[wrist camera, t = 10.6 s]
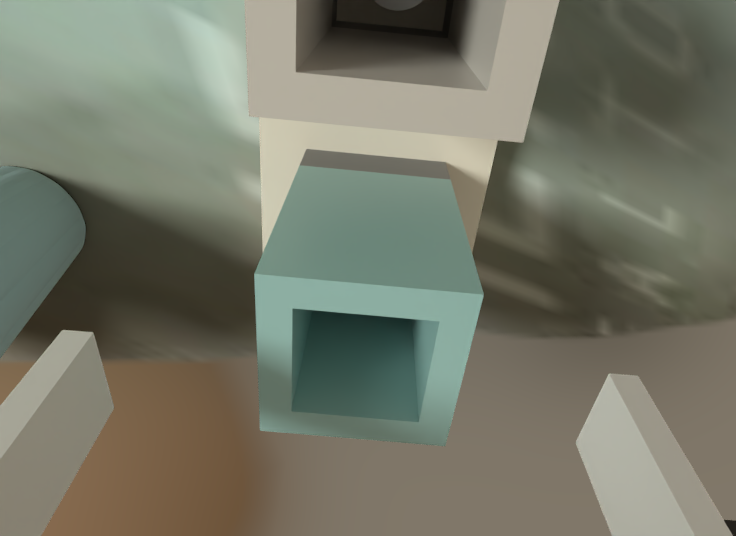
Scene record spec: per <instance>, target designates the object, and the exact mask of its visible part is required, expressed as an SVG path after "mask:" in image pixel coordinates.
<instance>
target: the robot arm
mask: <svg viewBox="0 0 736 536" xmlns="http://www.w3.org/2000/svg"><path fill="white" fill-rule="evenodd" d="M113 409H114V405H113V401H112V398H111V394H110V390H109V387H108V383H107V380H106V376H105V373H104V369H103V365H102V361H101V358H100V354H99V350H98V347H97V343H96V340H95V336H94V332H83V331H71V330H62V331H61V332H60V333H59V335H58V336H57V337H56V338H55V340H54V341H53V342H52V343H51V344H50V346H49V347H48V348H47V349H46V351H45V352H44V353H43V354H42V355H41V357H40V358H39V359H38V360H37V362H36V363H35V364H34V365H33V366H32V368H31V369H30V370H29V371H28V373H27V374H26V375H25V376H24V377H23V379H22V380H21V381H20V383H19V384H18V385H17V386H16V387H15V388H14V390H13V391H12V392H11V393H10V394H9V396H8V397H7V398H6V399H5V401H4V402H3V403H2V404H1V405H0V536H41V535H42V533H43V531H44V530H45V528H46V526H47V524H48V523H49V521H50V519H51V517H52V516H53V514H54V512H55V510H56V509H57V507H58V505H59V503H60V502H61V500H62V498H63V496H64V495H65V493H66V491H67V489H68V488H69V486H70V484H71V482H72V481H73V479H74V477H75V475H76V474H77V472H78V470H79V468H80V467H81V465H82V463H83V461H84V459H85V458H86V456H87V454H88V453H89V451H90V449H91V447H92V445H93V444H94V442H95V440H96V439H97V437H98V435H99V433H100V432H101V430H102V428H103V426H104V425H105V423H106V421H107V419H108V418H109V416H110V414H111V412H112V411H113ZM576 445H577V447H578V450H579V452H580V455H581V457H582V460H583V463H584V465H585V467H586V470H587V473H588V475H589V478H590V481H591V483H592V486H593V488H594V491H595V493H596V496H597V499H598V501H599V504H600V506H601V509H602V511H603V514H604V516H605V519H606V522H607V524H608V527H609V529H610V532H611V535H612V536H736V521H732V520H723V518H722V517H721V515H720V513H719V512H718V510H717V508H716V506H715V505H714V503H713V501H712V500H711V498H710V496H709V495H708V493H707V491H706V490H705V488H704V486H703V485H702V483H701V481H700V479H699V478H698V476H697V474H696V473H695V471H694V469H693V468H692V466H691V464H690V462H689V461H688V459H687V458H686V456H685V454H684V452H683V451H682V449H681V447H680V446H679V444H678V442H677V440H676V439H675V437H674V436H673V434H672V432H671V430H670V429H669V427H668V425H667V424H666V422H665V420H664V419H663V417H662V415H661V414H660V412H659V410H658V408H657V407H656V405H655V404H654V402H653V400H652V398H651V397H650V395H649V393H648V392H647V390H646V388H645V387H644V385H643V383H642V382H641V380H640V378H639V376H636V375H623V374H610V373H609V375H608V376H607V379H606V381H605V383H604V385H603V387H602V389H601V391H600V393H599V395H598V397H597V400H596V401H595V403H594V405H593V408H592V410H591V412H590V414H589V416H588V418H587V420H586V422H585V424H584V426H583V428H582V430H581V432H580V434H579V437H578V439H577V441H576Z"/></svg>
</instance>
